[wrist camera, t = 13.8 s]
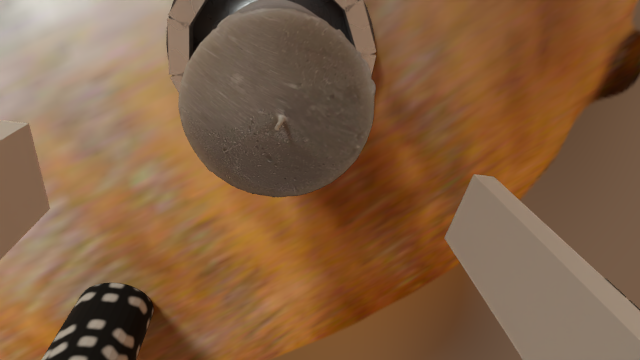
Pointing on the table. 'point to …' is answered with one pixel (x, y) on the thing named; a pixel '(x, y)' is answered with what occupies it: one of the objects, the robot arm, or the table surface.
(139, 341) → the white-spotted black cylinder
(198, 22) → the ring plate
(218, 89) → the pillar candle
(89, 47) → the table surface
